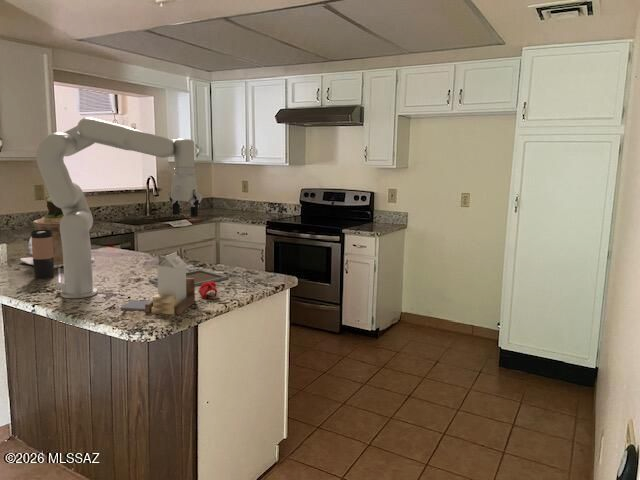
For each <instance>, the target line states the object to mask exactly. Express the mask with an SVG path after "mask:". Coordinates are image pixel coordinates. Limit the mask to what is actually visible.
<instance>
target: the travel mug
mask: <svg viewBox="0 0 640 480" xmlns="http://www.w3.org/2000/svg"><path fill="white" fill-rule="evenodd" d="M30 235H31V250H32V257H33V265H32V266H33V272H34V273H33V274H34V279H36V280H50V279H52V278H54V277H55V268H54V256H53V243H52V231H51V230H34V229H33V230H31V232H30Z"/></svg>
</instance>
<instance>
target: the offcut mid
mask: <svg viewBox="0 0 640 480" xmlns="http://www.w3.org/2000/svg"><path fill="white" fill-rule="evenodd" d="M178 304H179V301H178V300H175V301H174V302H172V303H159V302H153V308H163V309H175V308H176V306H177V305H178Z"/></svg>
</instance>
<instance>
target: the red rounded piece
mask: <svg viewBox="0 0 640 480" xmlns="http://www.w3.org/2000/svg"><path fill="white" fill-rule="evenodd" d="M211 291H214V297H217V294H218V293H217V292H218V289H217V284H216V282H205V283H204V284H202V285H200V287H199V289H198V292H199V294H200V295H201V297H202V298H204V299H207V294H208V293H209V292H211Z"/></svg>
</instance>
